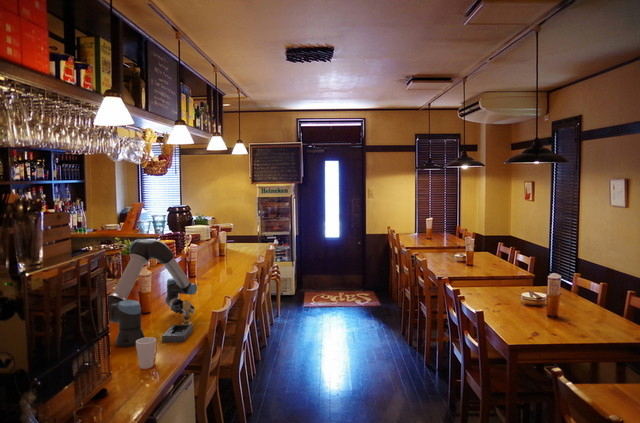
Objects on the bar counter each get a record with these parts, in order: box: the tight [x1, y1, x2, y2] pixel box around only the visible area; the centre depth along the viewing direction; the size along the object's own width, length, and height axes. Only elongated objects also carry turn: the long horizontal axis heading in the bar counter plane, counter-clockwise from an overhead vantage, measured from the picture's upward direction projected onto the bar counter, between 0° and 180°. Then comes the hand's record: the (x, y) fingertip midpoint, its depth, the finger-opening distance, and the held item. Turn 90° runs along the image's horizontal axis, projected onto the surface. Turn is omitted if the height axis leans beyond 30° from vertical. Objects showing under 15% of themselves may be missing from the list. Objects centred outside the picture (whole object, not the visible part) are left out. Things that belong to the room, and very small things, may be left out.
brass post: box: [181, 300, 193, 325], centre depth 282 cm, size 6×6×15 cm
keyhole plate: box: [161, 324, 194, 343], centre depth 262 cm, size 19×12×4 cm, turn 1°
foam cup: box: [135, 336, 157, 370], centre depth 219 cm, size 10×9×13 cm
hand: (189, 312), depth 277 cm, fingers closed on brass post, 4 cm apart
